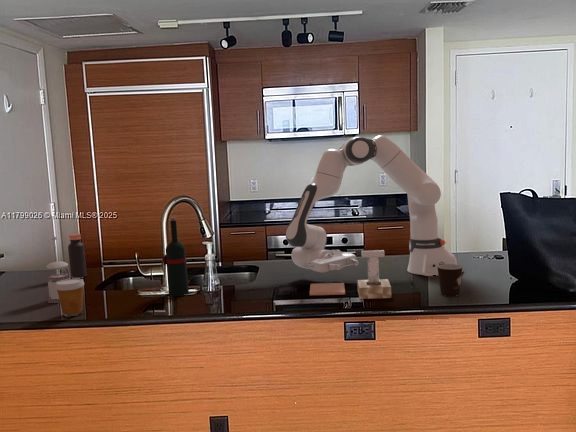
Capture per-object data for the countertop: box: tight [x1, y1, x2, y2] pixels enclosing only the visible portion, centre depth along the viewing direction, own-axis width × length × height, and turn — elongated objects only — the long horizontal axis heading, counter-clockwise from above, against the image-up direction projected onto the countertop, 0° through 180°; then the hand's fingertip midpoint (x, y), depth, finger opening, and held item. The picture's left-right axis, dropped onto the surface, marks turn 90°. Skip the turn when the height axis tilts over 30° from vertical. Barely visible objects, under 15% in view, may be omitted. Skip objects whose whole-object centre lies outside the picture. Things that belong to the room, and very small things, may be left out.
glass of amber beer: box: [55, 278, 85, 314], centre depth 188 cm, size 10×10×12 cm
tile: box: [309, 282, 346, 296], centre depth 205 cm, size 13×13×1 cm
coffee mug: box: [437, 263, 464, 297], centre depth 192 cm, size 12×9×10 cm
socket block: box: [357, 278, 392, 300], centre depth 196 cm, size 11×11×4 cm
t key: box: [361, 249, 385, 285], centre depth 196 cm, size 8×4×16 cm, turn 86°
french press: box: [45, 236, 71, 299], centre depth 208 cm, size 10×12×25 cm
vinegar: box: [67, 233, 88, 277], centre depth 245 cm, size 7×7×20 cm
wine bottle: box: [161, 216, 190, 297], centre depth 208 cm, size 8×10×30 cm
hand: (348, 265), depth 204 cm, fingers open, 8 cm apart
